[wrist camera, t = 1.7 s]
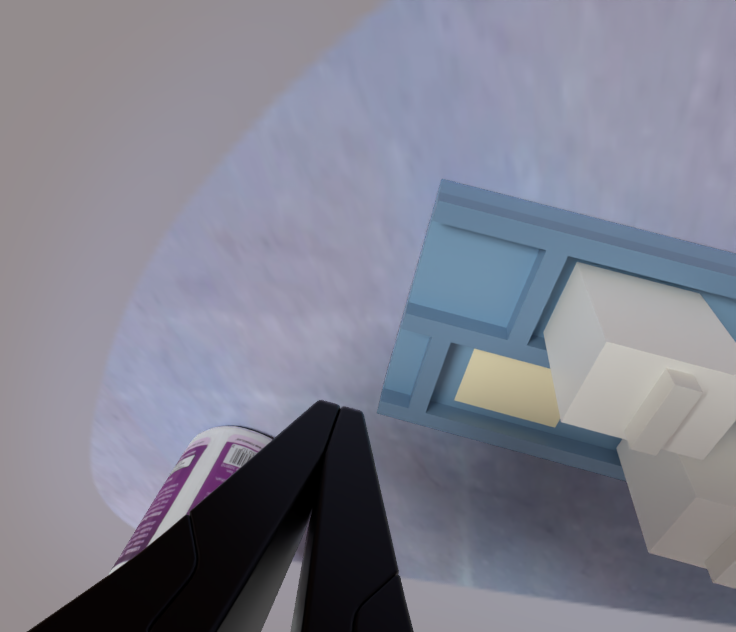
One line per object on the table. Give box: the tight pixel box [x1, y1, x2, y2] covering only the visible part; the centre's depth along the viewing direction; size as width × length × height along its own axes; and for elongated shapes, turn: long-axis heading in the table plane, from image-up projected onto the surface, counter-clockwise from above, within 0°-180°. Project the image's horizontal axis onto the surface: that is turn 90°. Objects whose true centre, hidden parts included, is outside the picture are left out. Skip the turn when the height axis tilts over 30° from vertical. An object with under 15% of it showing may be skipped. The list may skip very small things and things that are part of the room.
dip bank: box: [377, 179, 736, 481], centre depth 17 cm, size 15×8×2 cm, turn 79°
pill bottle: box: [109, 426, 272, 574], centre depth 20 cm, size 5×5×10 cm
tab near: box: [543, 262, 736, 460], centre depth 13 cm, size 4×2×5 cm
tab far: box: [616, 421, 736, 589], centre depth 15 cm, size 4×2×5 cm
